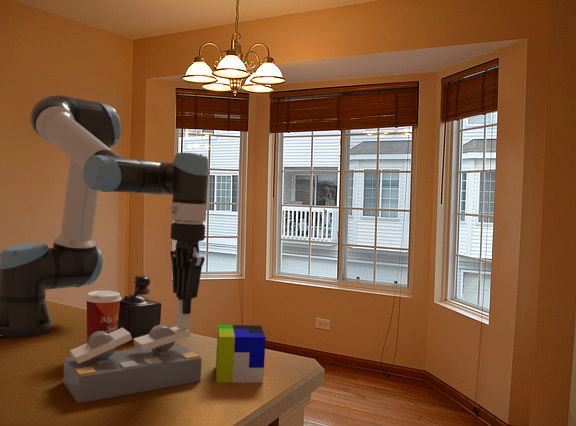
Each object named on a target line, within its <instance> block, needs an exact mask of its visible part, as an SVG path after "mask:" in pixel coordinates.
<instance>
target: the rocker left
mask: <svg viewBox="0 0 576 426" xmlns="http://www.w3.org/2000/svg"><path fill="white" fill-rule="evenodd" d="M130 340H132V337H131V334H130V333H129V332H128V331H127V330H125V329H124V328H123V327H122V328H120V329H118V330H116V331H113V332H111V333H109V334H108V333H106V332H104V331H97V332H95V333H93V334H92V335H91V336H90V337H89V339H88V341H87V340H86V342H85V343H83V344H81V345H80V346H77V347H75V348H73V349H70V351H69V352H70V354H71V357H73V358H74V359H75V361H76V362H77V363H78V364H79V363H82V362H84V361H86V360H88V359H90V358H93V357H96V358H98V359H106V358H108V357H110V356H111V355H112V354H113V353H114V352H115V351H116V348H117V347H119V346H121V345H124V344H126V343H128V342H129V341H130ZM130 342H131V341H130Z"/></svg>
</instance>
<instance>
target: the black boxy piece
mask: <svg viewBox="0 0 576 426" xmlns="http://www.w3.org/2000/svg"><path fill="white" fill-rule="evenodd" d="M134 279H135V280H134V281H133V284H135V285H134V293H133V294H129V295H124V297H123V298H122V299H121V300H120V306H119V315H118V324H117V330H118V329H120V328H122V327H123V328H124V329H125V330H127V331H128V332H129V333H130V334H131V337H132V340H130V341H128V342H134V340H133V339H134V338H137V337H141V336H144V335H148V334H149V333H150V331H151V329H152V328H153V327H155V326H157V325H161V319H162V317H161V316H162V302H158V301H155V300H151V299H149V298H147V297H146V296H144V295H148V294H150V289H149V288H148V287H149V286H150V284H151V280H150V277H147V276H146V275H135V277H134Z"/></svg>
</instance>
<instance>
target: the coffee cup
mask: <svg viewBox="0 0 576 426" xmlns="http://www.w3.org/2000/svg"><path fill="white" fill-rule="evenodd" d="M121 299H123V298H122V297H121V293H120V292H118V291H116V290H115V291H113V290H93V291H89V292H88V293H87V295H86V297H85V301H86V342H87V341H88V339H89V337H90V336H91V335H92V334H93V333H95V332H97V331H104V332H106V333H108V334H109V333H111V332H113V331H116V330H117V324H118V315H119V306H120V300H121Z"/></svg>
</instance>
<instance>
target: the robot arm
mask: <svg viewBox="0 0 576 426" xmlns="http://www.w3.org/2000/svg"><path fill="white" fill-rule="evenodd" d="M30 112H31V113H30V124H31V126H32V129H33V131H34V132H35V133H36V134H37V135H38V136H39V137H40V138H41V139H43V140H44V141H45V142H48V143H53V144H54V145H55V146H56V147H57V148H58V149H60V151H62V152H63V153H64V154H65V155H67V157H68V158H69V162H68V163H69V164H68V172H67V178H66V179H67V180H66V187H65V197H64V203H63V212H62V219H61V226H60V227H61V229H60V234H59V235H58V236H56V238H54V239H53V245H52V247H49V246H48V244H47V243H44V242H32V243H20V244H15V245H10V246H7V247H5V248H3V249H2V250H0V335H2V336H3V337H2V338H23V337H31V336H37V335H41V334H44V333H47V332H49V331H50V330H51V329H52V319H51V316H50V312H49V309H48V305H47V302H46V295H47V294H46V293H47V292H46V291H47V290H57V289H65V288H81V287H83V286H84V287H85V286H89V285H91V284H93V283H95V282H96V281H97V280H98V278H99V277H100V275H101V272H102V270H103V263H104V261H103V258H102V257H103V254H102V252H101V250H100V248H99V247H97V246H98V243H97V242H96V241H95V239H94V238H93V235H94V233H93V232H94V227H95V220H96V219H95V217H96V212H97V211H96V210H97V206H98V205H97V204H98V198H99V197H98V196H99V192H103V193H110V192H112V193H131V194H132V193H133V194H147V195H148V194H149V195H157V196H160V195H163V196H165V195H168V196H169V195H171V196H172V198H171V199H172V200H171V202H172V206H171V207H170V212H171V220H172V221H174V222H172V223H170V239H171V240H173V241H176V244H175V249H174V250H170V253H169V254H170V258H171V259H170V260H171V273H172V274H171V275H172V292H173V294H175V296H176V298H177V302H176V304H177V306H176V322H175V323H176V324H175V326H176V327H177V328H179V329H181V328H186V329H189V328H191V316H192V300H193V299H196V298H197V297H198V294H199V288H200V281H201V274H202V269H203V266H204V263H205V261H206V260H205V256H203V255H202V256H201V255H200V254H199V253H200V246H199V242H202V241H205V239H206V238H205V237H206V236H205V235H206V225H205V224H204V223H205V222H206V221H207V219H206V218H207V207H208V206H207V199H208V183H209V180H208V179H209V175H210V174H209V173H210V172H209V159H208V156H207V155H205V154H202V153H196V152H177V153H176V154H175V155H174V159H173V162H164V161H153V160H145V159H143V160H142V159H136V158H135V159H134V158H128V157H122V156H120V155H119V154H118V153H116V152H115V151H113V149H111V147H113V146H116V145H117V144H118V143H119V142H118V141H119V140H120V138H121V133H122V124H121V119H120V116H119V114H118V112H117V111H116V109H115V108H114V107H113V106H111V105H108V104H106V103H101V102H98V101H93V100H86V99H81V98H77V97H76V98H75V97H70V96H66V95H61V94H60V95H56V94H55V95H49V96H46V97H44V98H42V99H40V100H39V101H38V102H36V103H35V105H34V106H33V107H32V110H31V111H30Z"/></svg>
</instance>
